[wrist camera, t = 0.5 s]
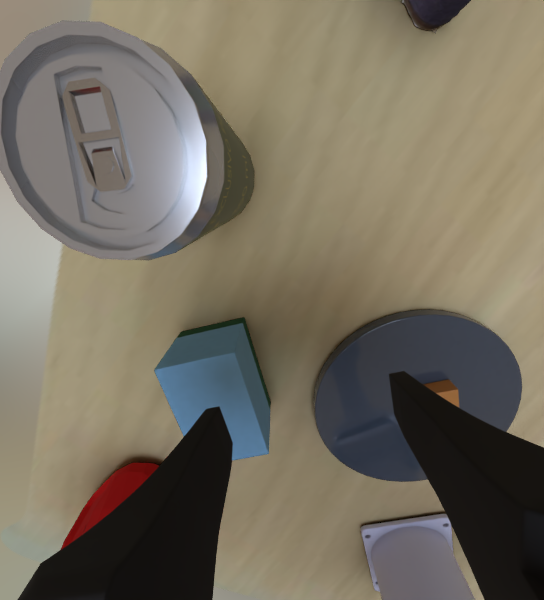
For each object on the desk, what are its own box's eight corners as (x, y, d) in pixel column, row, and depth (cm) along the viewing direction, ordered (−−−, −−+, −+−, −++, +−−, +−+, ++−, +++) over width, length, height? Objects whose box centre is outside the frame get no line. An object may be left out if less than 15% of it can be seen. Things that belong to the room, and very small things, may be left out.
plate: (511, 454, 25) (520, 464, 24) (332, 484, 26) (334, 494, 26) (513, 287, 20) (525, 291, 19) (294, 335, 22) (295, 341, 21)
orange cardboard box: (452, 422, 23) (461, 434, 22) (411, 429, 23) (418, 442, 22) (449, 378, 21) (458, 389, 20) (406, 387, 22) (413, 397, 21)
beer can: (157, 134, 17) (-68, 27, 6) (248, 120, 17) (191, -17, 6) (177, 228, 19) (34, 279, 8) (261, 218, 19) (235, 256, 8)
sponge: (270, 401, 24) (268, 454, 19) (213, 413, 24) (197, 467, 19) (244, 316, 21) (234, 352, 17) (180, 331, 22) (153, 370, 17)
